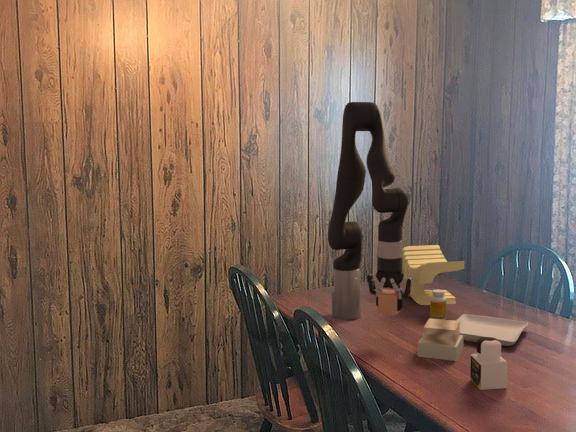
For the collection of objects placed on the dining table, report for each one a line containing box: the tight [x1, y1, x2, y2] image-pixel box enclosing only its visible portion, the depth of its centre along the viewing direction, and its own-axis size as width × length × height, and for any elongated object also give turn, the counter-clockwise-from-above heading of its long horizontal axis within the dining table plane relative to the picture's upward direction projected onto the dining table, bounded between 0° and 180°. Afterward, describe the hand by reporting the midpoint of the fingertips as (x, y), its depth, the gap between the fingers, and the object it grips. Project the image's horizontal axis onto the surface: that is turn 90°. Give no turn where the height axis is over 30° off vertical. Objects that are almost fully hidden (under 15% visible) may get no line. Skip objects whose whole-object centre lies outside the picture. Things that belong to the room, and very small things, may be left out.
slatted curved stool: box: [403, 244, 465, 306], centre depth 248 cm, size 30×16×18 cm, turn 4°
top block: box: [423, 317, 460, 346], centre depth 193 cm, size 9×9×4 cm
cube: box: [377, 288, 400, 316], centre depth 201 cm, size 6×6×6 cm
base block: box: [417, 334, 464, 362], centre depth 194 cm, size 11×11×4 cm
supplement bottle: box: [429, 288, 448, 320], centre depth 226 cm, size 5×5×10 cm
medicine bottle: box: [470, 337, 509, 391], centre depth 170 cm, size 7×7×12 cm
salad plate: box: [455, 313, 529, 347], centre depth 208 cm, size 21×21×3 cm
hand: (389, 308), depth 201 cm, fingers closed on cube, 5 cm apart
